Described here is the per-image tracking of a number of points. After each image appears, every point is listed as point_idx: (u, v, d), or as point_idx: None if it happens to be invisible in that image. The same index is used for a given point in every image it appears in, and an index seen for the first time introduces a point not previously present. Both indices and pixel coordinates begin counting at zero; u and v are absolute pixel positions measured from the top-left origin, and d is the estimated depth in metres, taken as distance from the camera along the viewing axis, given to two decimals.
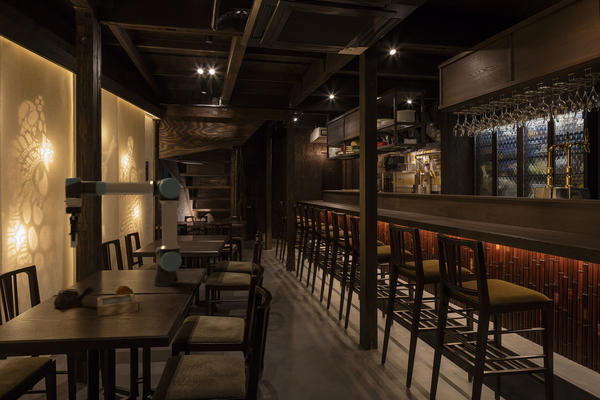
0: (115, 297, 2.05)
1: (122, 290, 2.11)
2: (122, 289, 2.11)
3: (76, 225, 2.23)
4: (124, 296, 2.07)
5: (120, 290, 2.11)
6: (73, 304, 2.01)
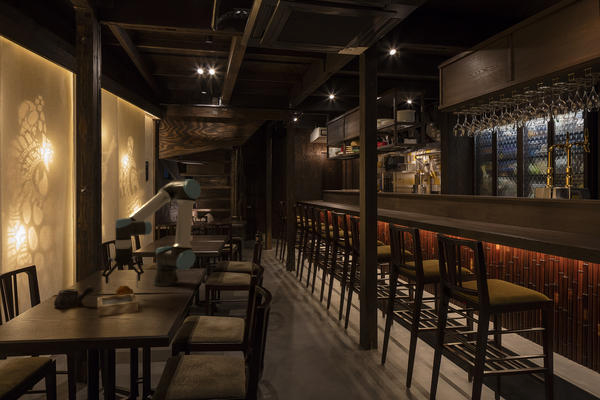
0: (115, 297, 2.05)
1: (122, 290, 2.11)
2: (122, 289, 2.12)
3: (131, 267, 2.15)
4: (124, 296, 2.07)
5: (120, 290, 2.11)
6: (73, 304, 2.01)
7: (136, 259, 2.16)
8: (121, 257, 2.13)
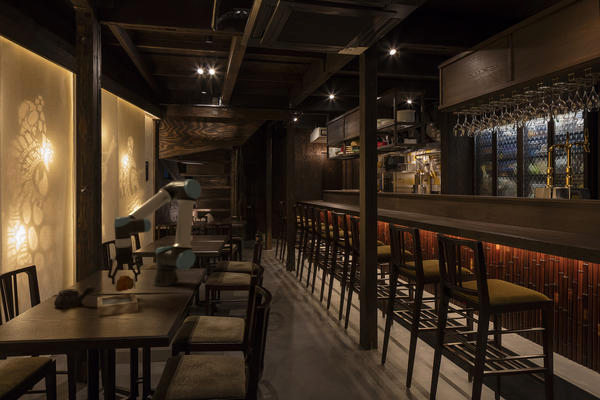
0: (115, 297, 2.05)
1: (123, 280, 2.12)
2: (123, 279, 2.12)
3: (130, 267, 2.15)
4: (124, 296, 2.07)
5: (121, 280, 2.12)
6: (74, 304, 2.01)
7: (136, 259, 2.17)
8: (121, 255, 2.13)
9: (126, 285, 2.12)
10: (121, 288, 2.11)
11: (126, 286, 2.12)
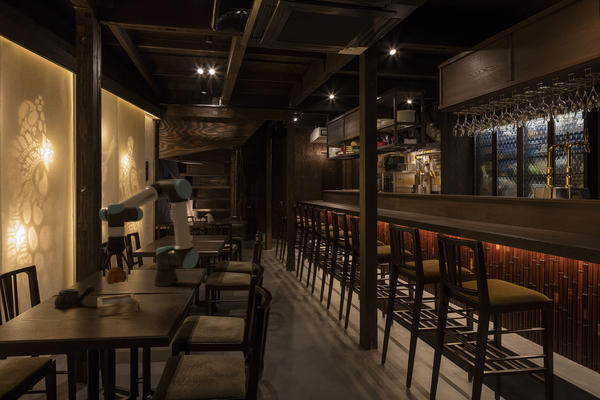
0: (115, 297, 2.05)
1: (115, 271, 1.96)
2: (115, 270, 1.96)
3: (123, 258, 1.99)
4: (124, 296, 2.07)
5: (113, 271, 1.95)
6: (74, 304, 2.01)
7: (130, 249, 2.00)
8: (113, 244, 1.97)
9: (118, 277, 1.95)
10: (112, 280, 1.94)
11: (118, 278, 1.95)
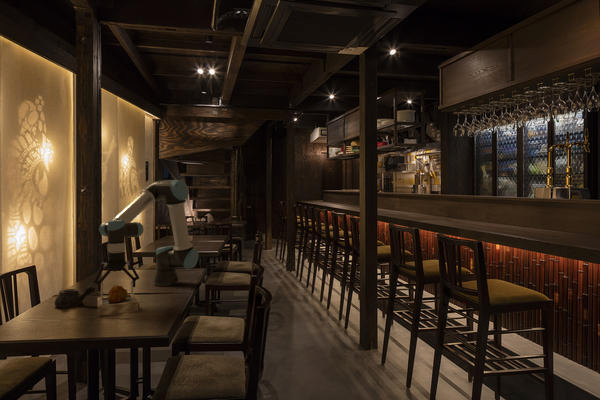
0: None
1: (116, 290, 1.96)
2: (116, 289, 1.96)
3: None
4: None
5: (114, 290, 1.95)
6: (74, 304, 2.02)
7: (131, 264, 2.00)
8: (114, 262, 1.97)
9: (119, 296, 1.95)
10: (113, 299, 1.94)
11: (119, 297, 1.95)
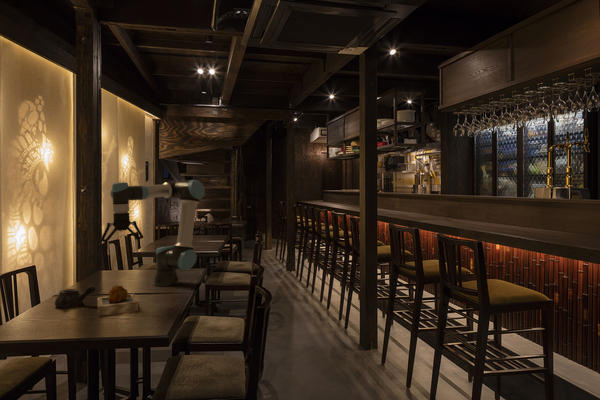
0: None
1: (116, 290, 1.96)
2: (116, 289, 1.96)
3: None
4: None
5: (114, 290, 1.96)
6: (75, 304, 2.02)
7: (135, 224, 2.13)
8: (119, 222, 2.10)
9: (119, 296, 1.95)
10: (114, 299, 1.94)
11: (119, 297, 1.95)
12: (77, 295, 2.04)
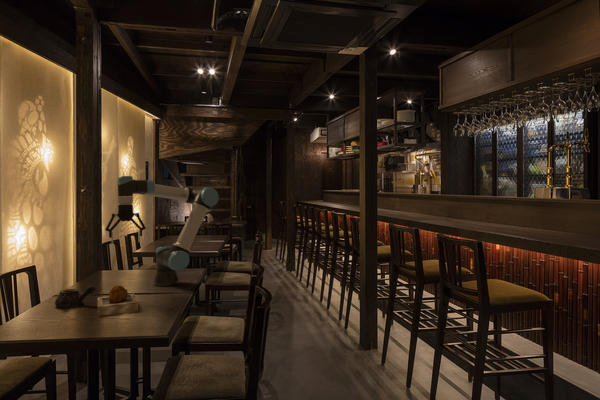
0: None
1: (117, 290, 1.96)
2: (117, 289, 1.96)
3: None
4: None
5: (114, 290, 1.96)
6: (75, 303, 2.02)
7: (138, 215, 2.26)
8: (123, 213, 2.23)
9: (119, 296, 1.95)
10: (114, 299, 1.94)
11: (119, 297, 1.95)
12: (77, 295, 2.04)
